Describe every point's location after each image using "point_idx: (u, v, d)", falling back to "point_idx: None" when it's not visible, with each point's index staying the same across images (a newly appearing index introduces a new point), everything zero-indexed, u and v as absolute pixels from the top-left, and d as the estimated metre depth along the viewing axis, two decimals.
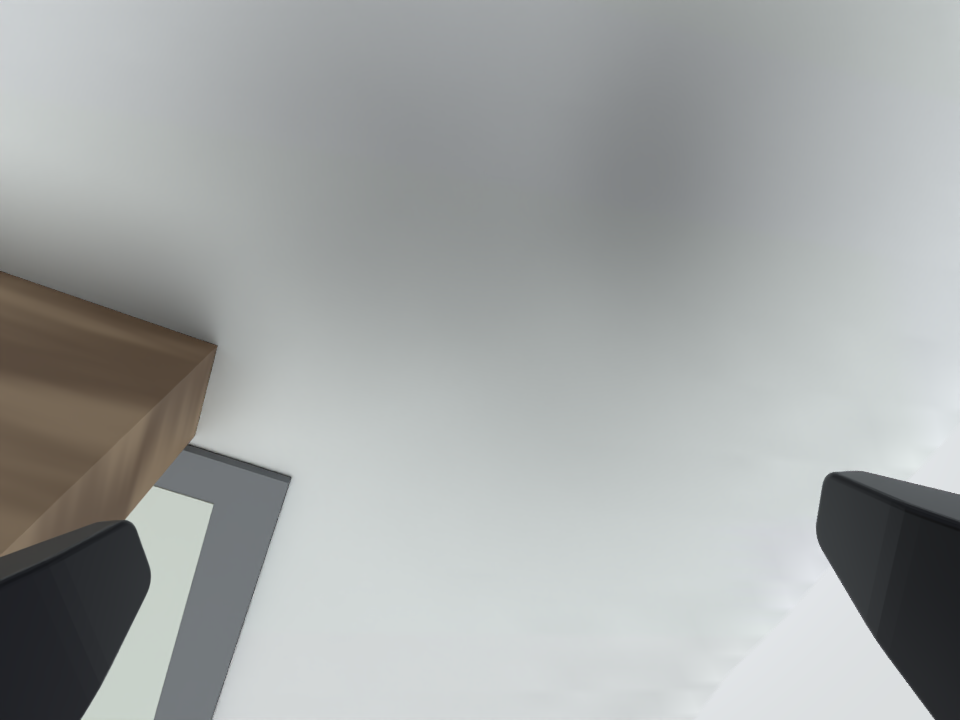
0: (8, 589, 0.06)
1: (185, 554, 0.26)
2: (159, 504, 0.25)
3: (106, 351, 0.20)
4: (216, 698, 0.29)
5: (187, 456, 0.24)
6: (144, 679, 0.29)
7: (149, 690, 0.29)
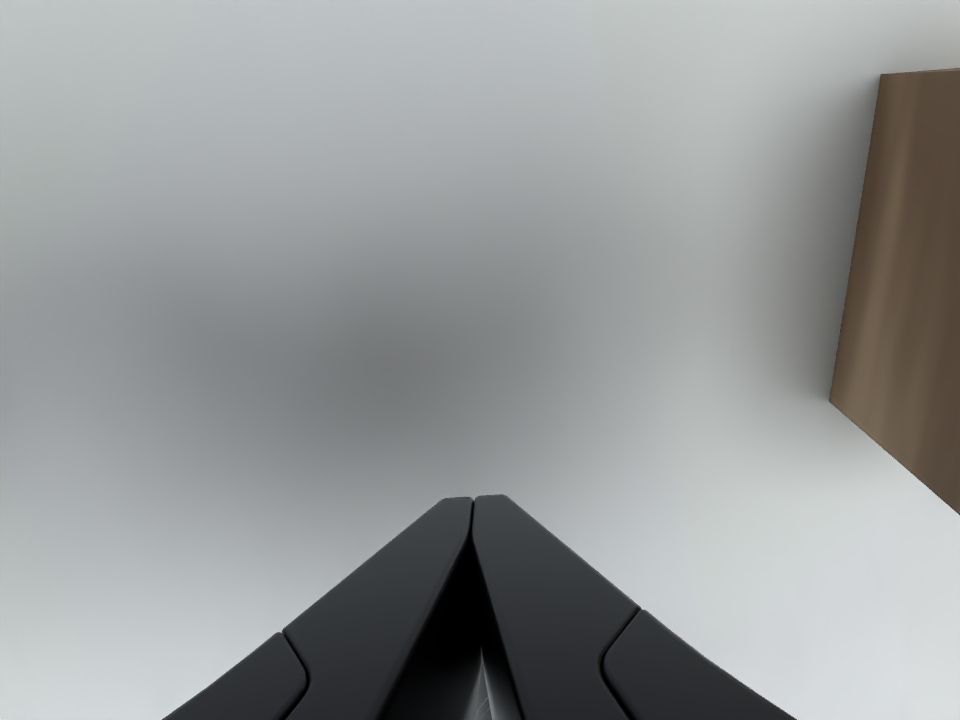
0: (459, 560, 0.06)
1: None
2: None
3: (931, 180, 0.15)
4: None
5: None
6: None
7: None
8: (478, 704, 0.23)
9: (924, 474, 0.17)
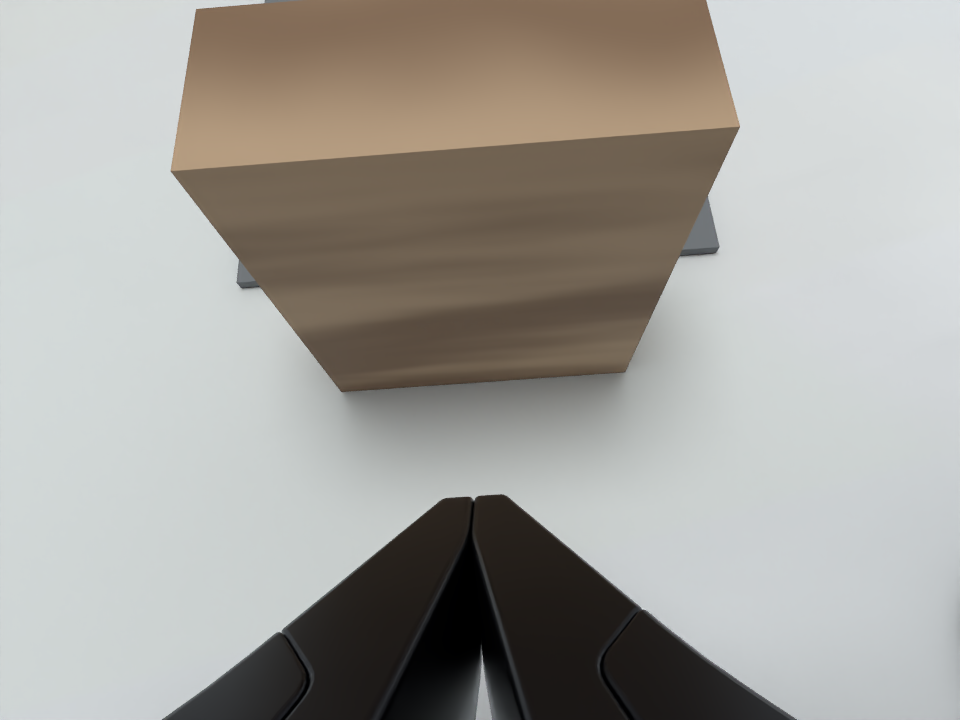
0: (459, 560, 0.06)
1: None
2: None
3: (397, 356, 0.20)
4: None
5: None
6: None
7: None
8: None
9: (644, 312, 0.18)
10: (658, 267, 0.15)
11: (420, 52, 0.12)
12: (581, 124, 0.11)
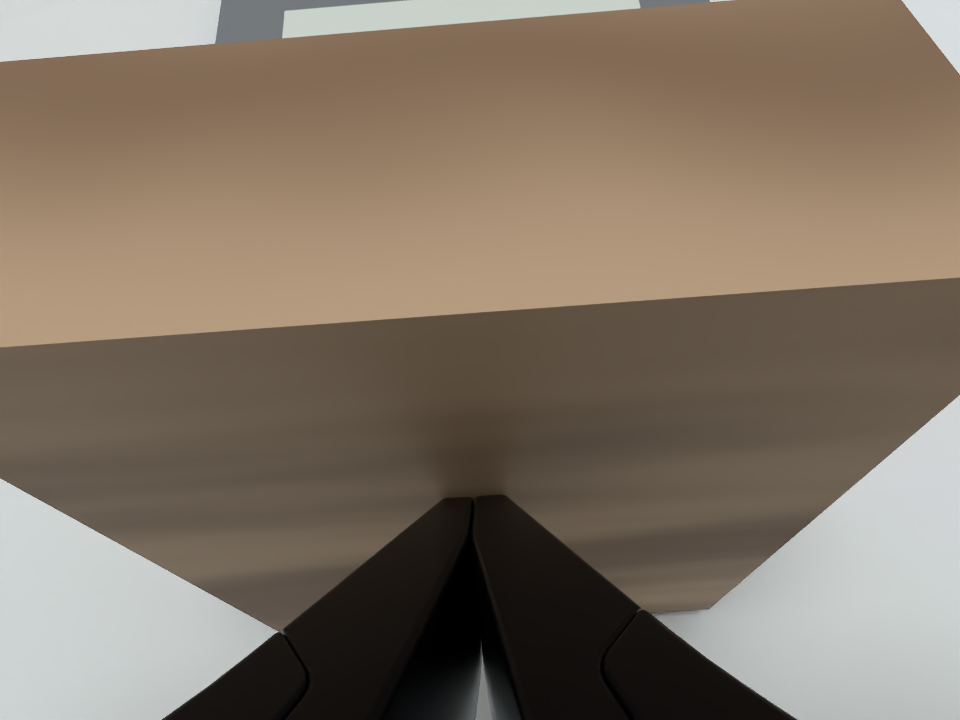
0: (459, 560, 0.06)
1: None
2: None
3: None
4: None
5: None
6: None
7: None
8: None
9: (762, 551, 0.11)
10: (811, 499, 0.09)
11: (379, 125, 0.06)
12: (729, 261, 0.05)
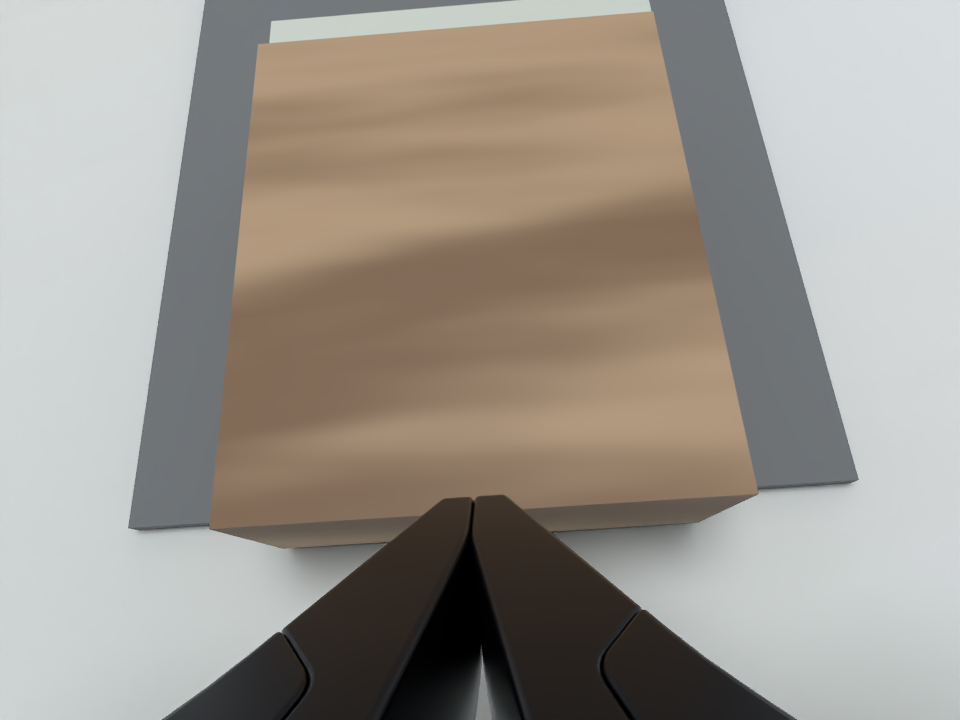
0: (459, 560, 0.06)
1: None
2: None
3: (345, 375, 0.13)
4: (188, 126, 0.20)
5: None
6: None
7: None
8: None
9: (695, 262, 0.13)
10: (670, 166, 0.14)
11: None
12: None
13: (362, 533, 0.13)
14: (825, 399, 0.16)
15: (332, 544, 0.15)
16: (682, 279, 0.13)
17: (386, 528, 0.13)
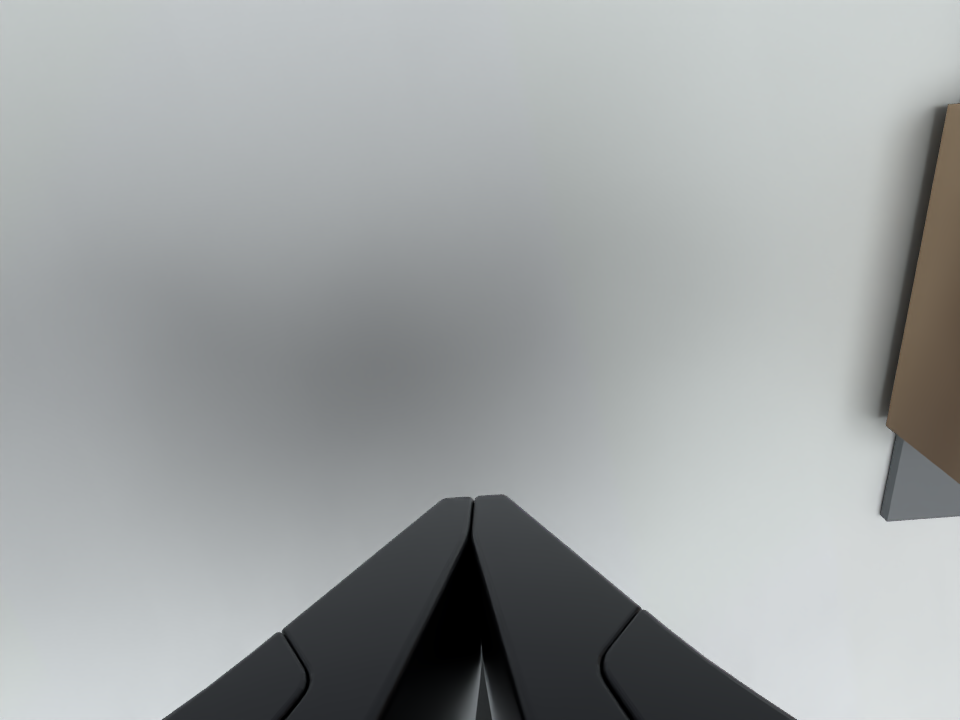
0: (459, 560, 0.06)
1: None
2: None
3: None
4: None
5: None
6: None
7: None
8: None
9: None
10: None
11: None
12: None
13: None
14: (946, 511, 0.23)
15: (944, 153, 0.17)
16: None
17: None
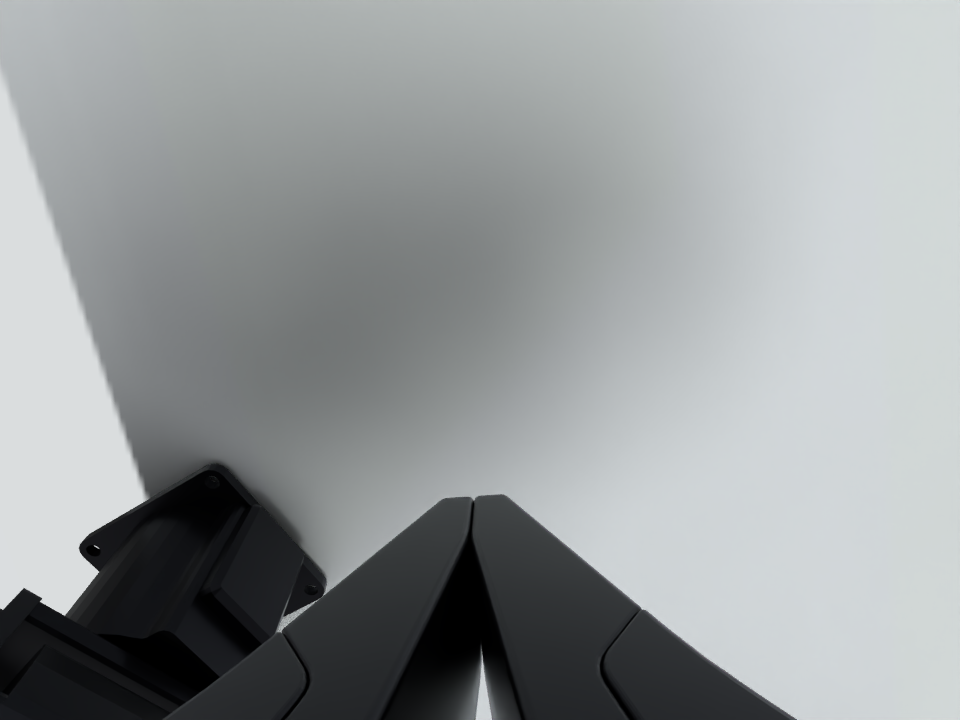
0: (459, 560, 0.06)
1: None
2: None
3: None
4: None
5: None
6: None
7: None
8: None
9: None
10: None
11: None
12: None
13: None
14: None
15: None
16: None
17: None
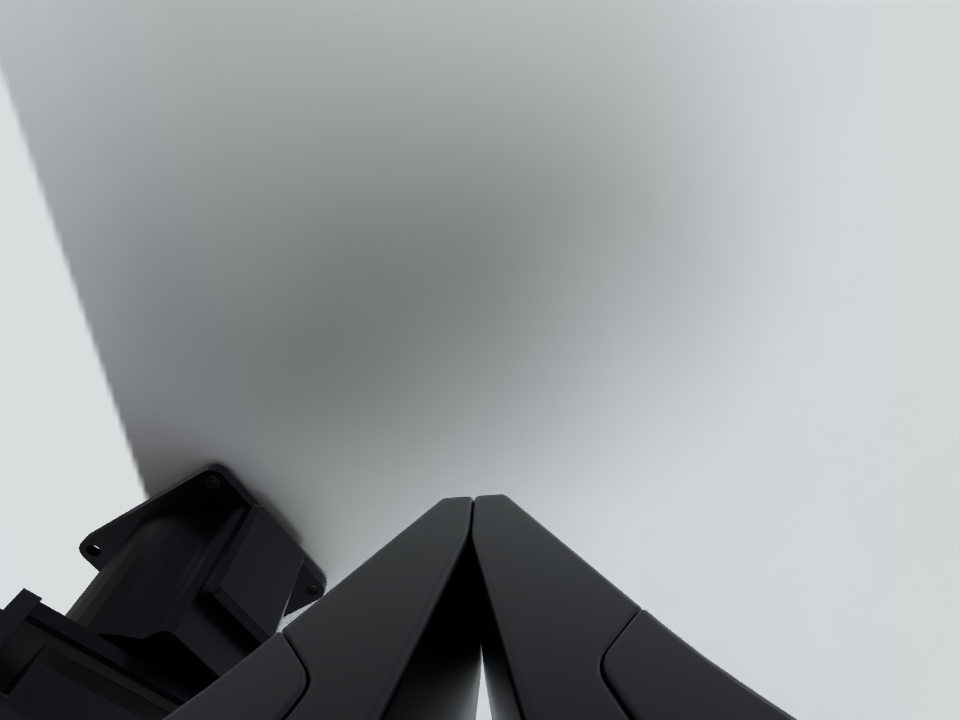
0: (459, 560, 0.06)
1: None
2: None
3: None
4: None
5: None
6: None
7: None
8: None
9: None
10: None
11: None
12: None
13: None
14: None
15: None
16: None
17: None
